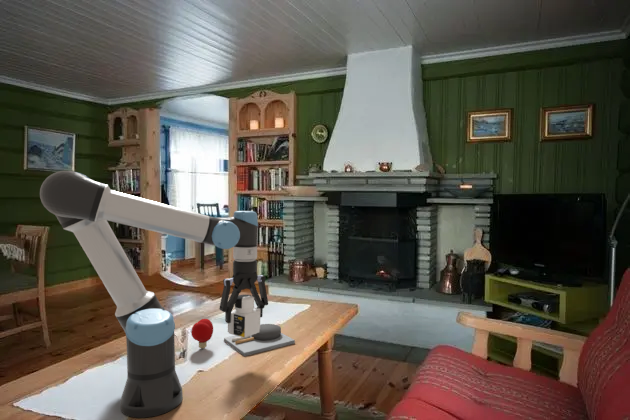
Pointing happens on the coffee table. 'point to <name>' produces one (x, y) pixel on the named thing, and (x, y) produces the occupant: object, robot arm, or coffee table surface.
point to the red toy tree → (202, 332)
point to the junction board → (257, 344)
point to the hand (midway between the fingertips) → (244, 330)
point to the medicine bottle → (246, 317)
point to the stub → (268, 332)
